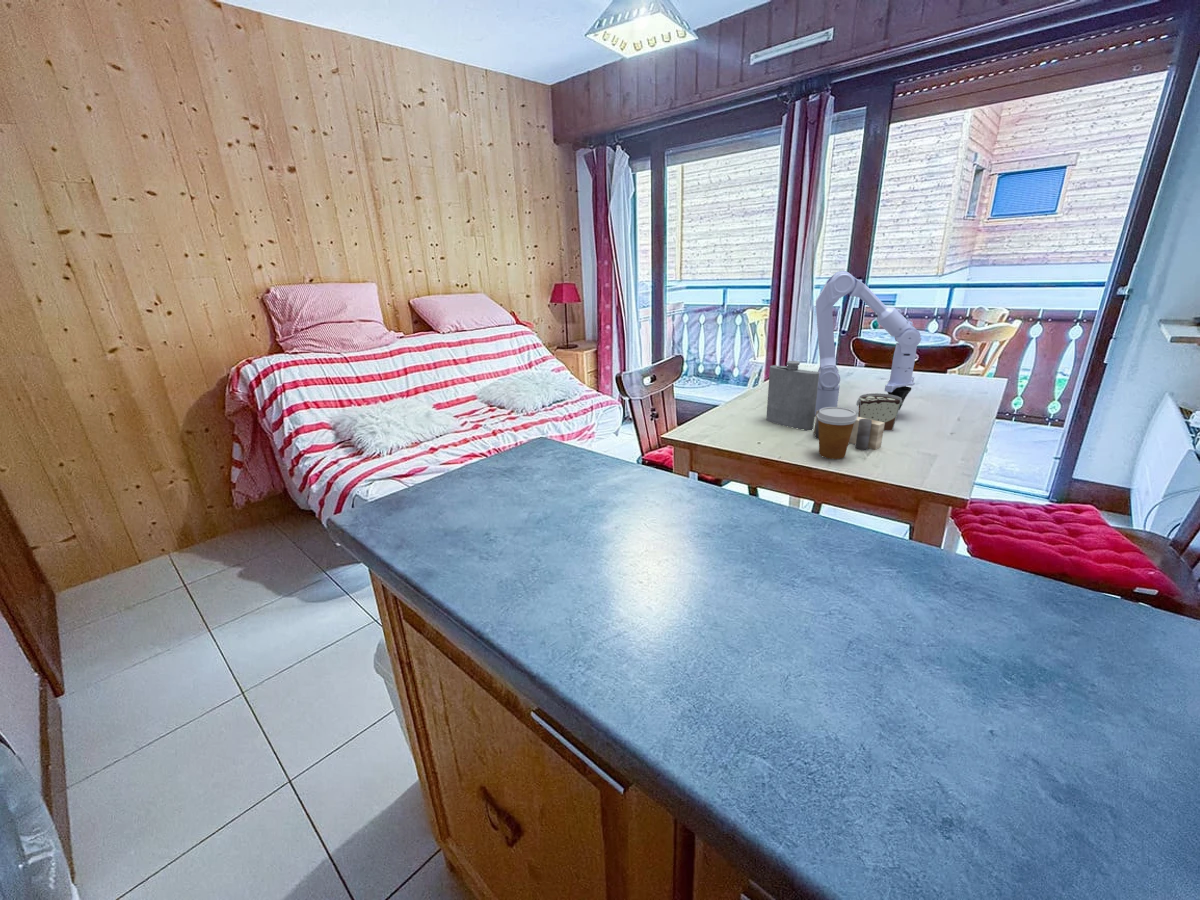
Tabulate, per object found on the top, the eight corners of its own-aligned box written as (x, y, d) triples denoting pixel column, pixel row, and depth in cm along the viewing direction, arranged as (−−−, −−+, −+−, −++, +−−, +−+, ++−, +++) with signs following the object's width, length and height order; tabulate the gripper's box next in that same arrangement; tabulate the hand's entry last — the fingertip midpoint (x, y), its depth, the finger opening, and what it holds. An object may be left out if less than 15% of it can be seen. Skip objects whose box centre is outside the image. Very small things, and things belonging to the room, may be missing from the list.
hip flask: (815, 428, 152) (822, 363, 145) (807, 432, 150) (814, 366, 143) (770, 417, 164) (774, 357, 157) (762, 420, 162) (766, 359, 154)
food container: (888, 424, 152) (894, 392, 149) (898, 430, 147) (903, 398, 143) (846, 424, 154) (850, 393, 150) (853, 431, 148) (858, 399, 144)
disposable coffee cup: (832, 464, 128) (838, 420, 123) (804, 452, 136) (809, 410, 131) (860, 457, 131) (866, 413, 127) (831, 445, 139) (836, 404, 135)
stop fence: (808, 436, 147) (810, 410, 144) (819, 431, 150) (822, 405, 147) (869, 452, 133) (874, 424, 130) (880, 446, 136) (885, 419, 133)
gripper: (905, 373, 145) (897, 417, 150) (927, 364, 153) (919, 407, 158) (880, 369, 150) (873, 412, 155) (903, 361, 158) (896, 402, 163)
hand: (895, 409), depth 157 cm, fingers closed
